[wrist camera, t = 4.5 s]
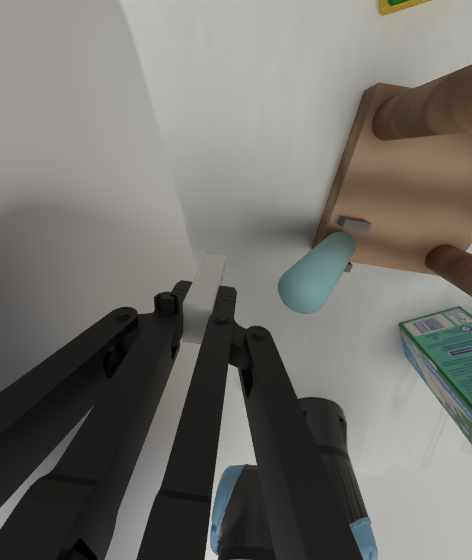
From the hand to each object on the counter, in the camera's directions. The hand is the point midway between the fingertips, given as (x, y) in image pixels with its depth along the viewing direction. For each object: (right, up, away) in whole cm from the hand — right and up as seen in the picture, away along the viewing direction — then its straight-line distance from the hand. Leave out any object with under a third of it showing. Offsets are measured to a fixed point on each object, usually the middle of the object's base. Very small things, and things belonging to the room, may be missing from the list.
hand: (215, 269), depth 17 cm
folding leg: (+14, +3, +9) cm, 17 cm away
